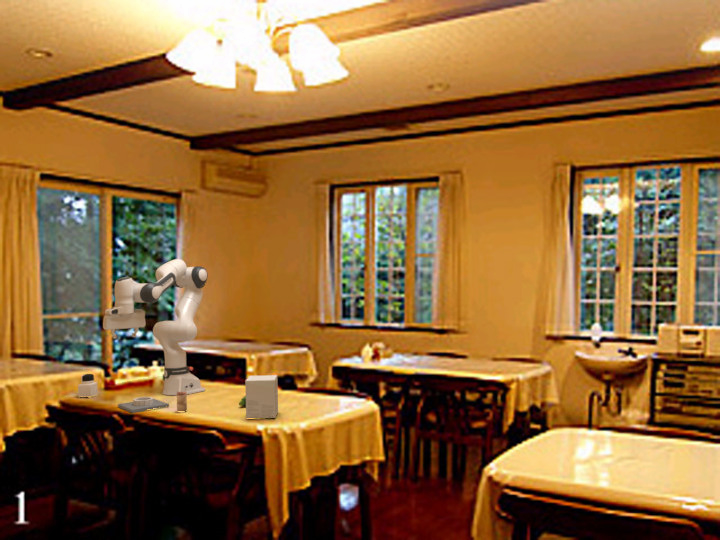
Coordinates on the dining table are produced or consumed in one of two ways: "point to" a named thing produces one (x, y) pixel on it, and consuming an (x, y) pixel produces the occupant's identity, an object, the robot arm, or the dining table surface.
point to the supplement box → (261, 396)
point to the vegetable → (243, 401)
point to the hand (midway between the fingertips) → (124, 337)
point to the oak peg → (181, 401)
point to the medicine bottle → (87, 386)
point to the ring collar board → (141, 408)
